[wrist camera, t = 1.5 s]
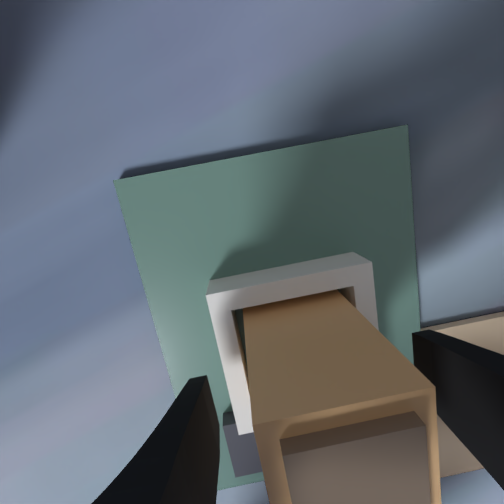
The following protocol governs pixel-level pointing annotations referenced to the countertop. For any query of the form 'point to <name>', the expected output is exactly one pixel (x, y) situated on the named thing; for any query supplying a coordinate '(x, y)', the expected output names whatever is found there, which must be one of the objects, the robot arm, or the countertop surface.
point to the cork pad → (450, 447)
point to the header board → (271, 257)
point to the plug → (337, 407)
